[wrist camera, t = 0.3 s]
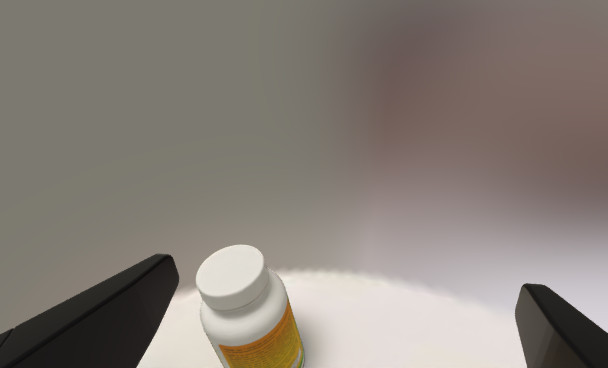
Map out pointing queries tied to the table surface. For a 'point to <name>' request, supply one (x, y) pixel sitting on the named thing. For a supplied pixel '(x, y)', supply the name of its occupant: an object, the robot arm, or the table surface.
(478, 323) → the table surface
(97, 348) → the robot arm
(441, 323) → the table surface
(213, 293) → the supplement bottle
